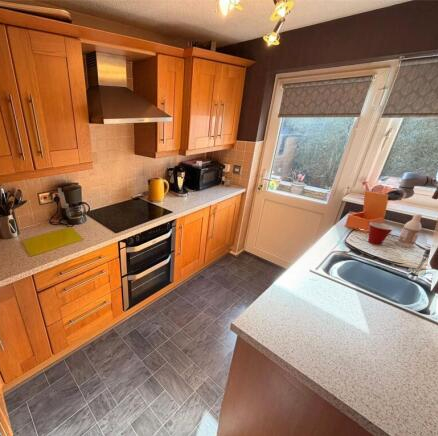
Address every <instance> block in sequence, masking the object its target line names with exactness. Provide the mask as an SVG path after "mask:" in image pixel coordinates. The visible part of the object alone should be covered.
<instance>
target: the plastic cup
mask: <svg viewBox="0 0 438 436" xmlns="http://www.w3.org/2000/svg"><path fill="white" fill-rule="evenodd" d="M392 231H394V227H393V226H390V225H387V224H384V223H382V224H380V223H370V231H369V232H368V243H369V244H372V245H375V246H381V245H383V243H384V241H385V240H386V238H388V236H389V234H391V232H392Z"/></svg>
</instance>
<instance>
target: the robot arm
mask: <svg viewBox="0 0 438 436" xmlns="http://www.w3.org/2000/svg"><path fill="white" fill-rule="evenodd" d="M437 185H438V171H437V173H436V175H422V174H421V175H420V172H415V171H407V172H404V173H403V176H402V177H401V180H400V183H399V186H398V188H397V189H393V190H389V191H387V192H384V193H383V192H382V191H380V192H379V193H382V194H387V195H388V200H387V202H388V201H393V202H394V201H402V200H406V199H409V198H411V197H413V196H414V195H415V187H426V188H427V187H428V188H429V187H430V188H438V187H437Z"/></svg>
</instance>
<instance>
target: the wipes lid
mask: <svg viewBox="0 0 438 436" xmlns="http://www.w3.org/2000/svg"><path fill="white" fill-rule="evenodd" d="M382 193H383V192H381V193H380V192H377V191H371V190H364V195H363V196H364V197H363V208H362V212H366V213H370V214H374V215H378V216H382V217H384V218H385V217H386V213H387V207H388V195H387V194H384V193H383V194H382Z"/></svg>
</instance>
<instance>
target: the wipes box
mask: <svg viewBox="0 0 438 436" xmlns="http://www.w3.org/2000/svg"><path fill="white" fill-rule="evenodd" d="M384 219H385V217H383V216H379V215H375V214H372V213H368V212H364V211H359V212H354V213H350V214H348V215H347V218H346V222H345V225H344V227H348V228H350V229H354V230H357V231H359V232H363V233H369V232H370V223H380V224H383V223H384ZM357 228H360V229H364V230H369V231H364V230H360V229H357Z"/></svg>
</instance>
